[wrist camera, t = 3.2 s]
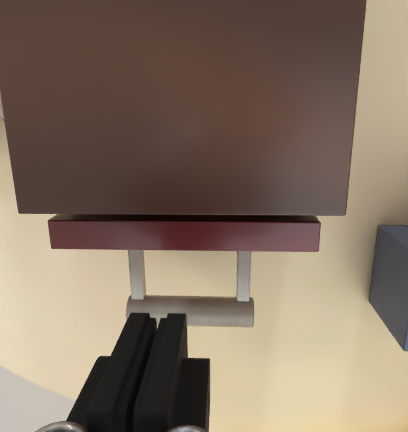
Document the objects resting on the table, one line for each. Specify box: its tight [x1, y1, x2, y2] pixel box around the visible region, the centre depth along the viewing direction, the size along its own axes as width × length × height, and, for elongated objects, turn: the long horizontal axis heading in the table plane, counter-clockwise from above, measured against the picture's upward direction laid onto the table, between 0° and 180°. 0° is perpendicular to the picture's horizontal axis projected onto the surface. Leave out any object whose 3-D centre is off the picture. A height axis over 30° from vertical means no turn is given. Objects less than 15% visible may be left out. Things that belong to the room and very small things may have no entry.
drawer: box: [48, 214, 321, 327], centre depth 17 cm, size 18×10×7 cm, turn 1°
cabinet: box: [0, 0, 366, 216], centre depth 16 cm, size 15×12×9 cm
